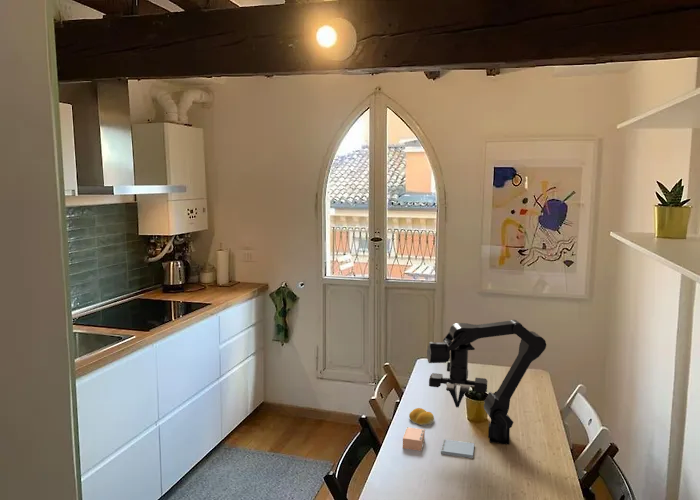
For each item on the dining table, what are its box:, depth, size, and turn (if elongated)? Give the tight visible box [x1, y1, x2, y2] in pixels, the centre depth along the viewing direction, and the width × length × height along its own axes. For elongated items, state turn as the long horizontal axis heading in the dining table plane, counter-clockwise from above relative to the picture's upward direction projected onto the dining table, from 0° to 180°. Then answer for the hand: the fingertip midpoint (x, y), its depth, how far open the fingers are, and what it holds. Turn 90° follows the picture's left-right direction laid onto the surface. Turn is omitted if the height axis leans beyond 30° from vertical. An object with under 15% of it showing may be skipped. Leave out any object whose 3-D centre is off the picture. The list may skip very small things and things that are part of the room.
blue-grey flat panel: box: [440, 438, 475, 459], centre depth 177 cm, size 10×8×1 cm
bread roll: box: [408, 407, 435, 426], centre depth 198 cm, size 8×9×4 cm
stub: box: [402, 427, 426, 452], centre depth 180 cm, size 6×8×4 cm
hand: (457, 407), depth 181 cm, fingers closed
